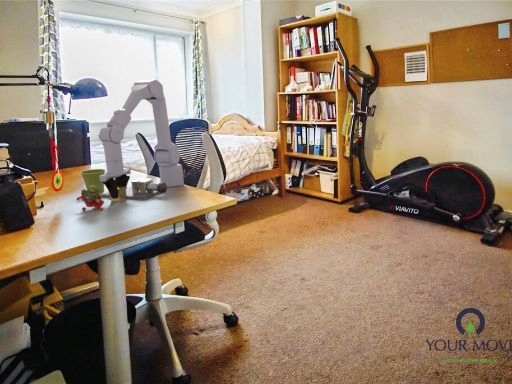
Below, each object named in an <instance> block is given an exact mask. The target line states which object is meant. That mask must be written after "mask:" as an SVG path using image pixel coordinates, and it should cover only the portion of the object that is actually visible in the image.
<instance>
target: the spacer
mask: <svg viewBox="0 0 512 384" xmlns="http://www.w3.org/2000/svg"><path fill="white" fill-rule="evenodd" d="M117 194H118V196H117V199H113V198H111V196H110V203H122V202H124V201H127V200H128V199H127V195H126V186H117Z"/></svg>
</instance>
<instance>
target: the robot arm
mask: <svg viewBox="0 0 512 384" xmlns="http://www.w3.org/2000/svg"><path fill="white" fill-rule="evenodd" d="M130 89H131V92H130V94H129V95H128V97H127V99H126V100H125V102H124V105H123V106H122V108H119V109H117V110H115V111H113V114H112V117H110V120H109V121H108V122H107V123H106V126H103V127H102V128H101V129H100V131H99V134H98V135H97V136H98V138H99V140H100V142H101V143H102V146H103V150H104V158H105V167H106V171H105V174H103V175H101V176H99V177H100V181H102V182H103V183H104V187H106V189H107V191H108V192H109V193H110V196H111V198H113V199H117V196H118V194H117V186H126V188H127V187H128V185H129V184H128V183H129V181H130V178H131V177H130V174H132V171H131V168H124V161H123V153H122V144H121V143H122V141H123V140H124V137H125V136H124V135H125V134H124V133H125V129H126V128H127V126H128V125H129V124H130V122H131V120H132V116H131V114H132V113H133V112H134V110H135V109H136V108H137V106H138V105H139V104H140V102H141V101H143V100H145V101H147V102H148V103H150V104H151V107H152V112H153V120H154V125H155V133H156V139H157V143H156V144H155V146H154V147H153V148H154V153H153V159H154V161H155V163H156V164H157V166H158V171H159V180H160V182H162V183H166V185H167V188H171V187H181V186H185V183H184V182H185V181H184V171H183V165H182V164H181V163H179V162H180V160H181V159H180V158H181V155H180V152H179V149H178V146H177V144H175V143H174V142H172V138H171V131H170V124H169V116H168V110H167V109H168V108H167V104H166V103H167V102H166V97H165V94H164V88H163V84H162V83H161V82H160V81H159V80H158V79H151V80H149V79H148V80H136V81H135V82H134V83H133V85H132V86H131V88H130ZM160 182H159V183H160ZM111 198H110V199H111Z"/></svg>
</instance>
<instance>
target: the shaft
mask: <svg viewBox="0 0 512 384" xmlns="http://www.w3.org/2000/svg"><path fill="white" fill-rule="evenodd" d="M138 187H139V183H138ZM139 190H140V189H139ZM167 190H168V187H167V185H166V183H162V182H158V183H153V184H149V183H146V191H158V192H159V194H165V193H166V192H167Z"/></svg>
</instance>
